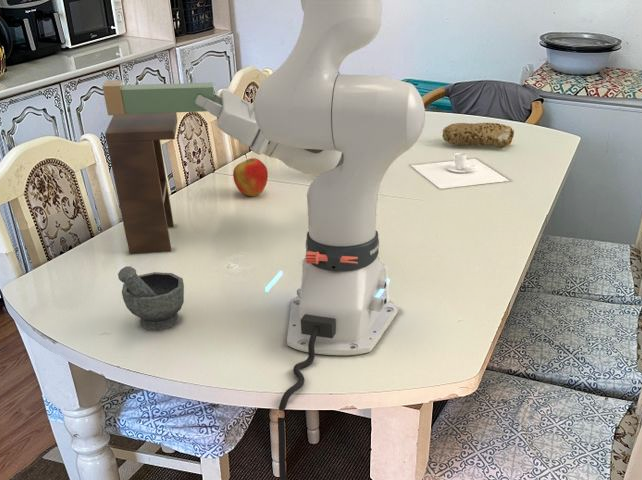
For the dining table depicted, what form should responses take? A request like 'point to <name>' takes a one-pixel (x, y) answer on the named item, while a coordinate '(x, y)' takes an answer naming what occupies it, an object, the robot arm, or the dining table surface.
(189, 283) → the dining table surface
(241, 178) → the apple
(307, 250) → the robot arm
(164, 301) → the mortar and pestle
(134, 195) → the rack
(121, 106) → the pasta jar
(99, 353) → the dining table surface
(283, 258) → the dining table surface
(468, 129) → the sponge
